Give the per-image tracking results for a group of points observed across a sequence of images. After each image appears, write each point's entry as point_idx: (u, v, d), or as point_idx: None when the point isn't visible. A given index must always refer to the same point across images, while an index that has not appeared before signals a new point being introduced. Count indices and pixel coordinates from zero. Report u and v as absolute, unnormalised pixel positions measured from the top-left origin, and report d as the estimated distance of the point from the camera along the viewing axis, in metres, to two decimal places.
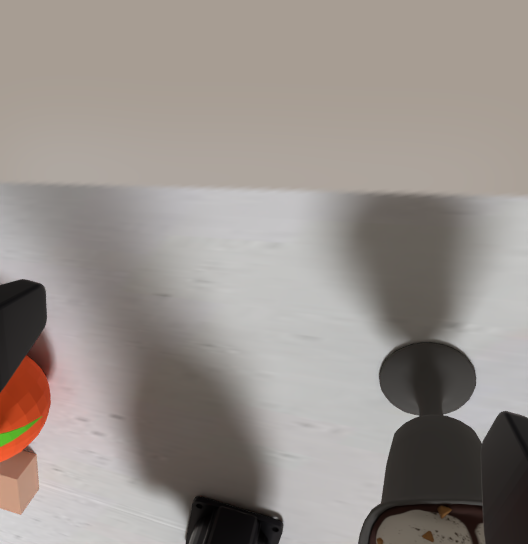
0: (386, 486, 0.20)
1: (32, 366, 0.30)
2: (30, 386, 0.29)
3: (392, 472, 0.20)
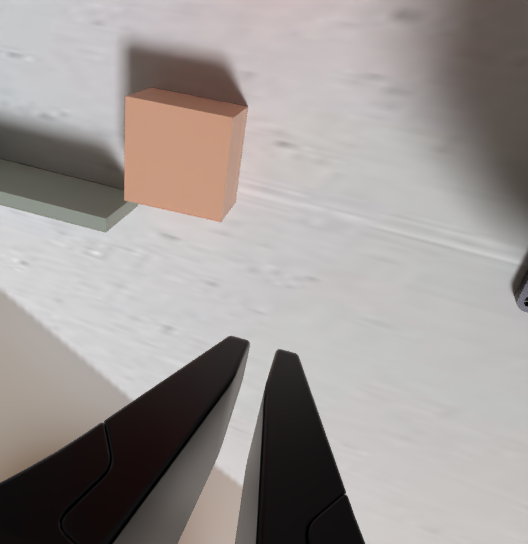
0: None
1: None
2: None
3: None
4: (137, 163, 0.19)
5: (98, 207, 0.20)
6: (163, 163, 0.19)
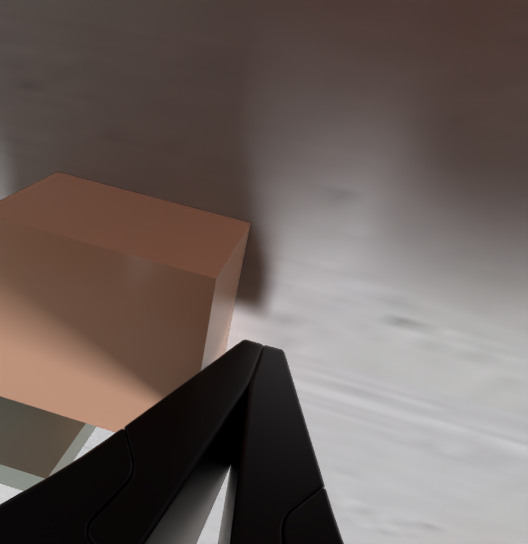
0: None
1: None
2: None
3: None
4: (14, 338, 0.09)
5: (34, 439, 0.10)
6: (68, 345, 0.09)
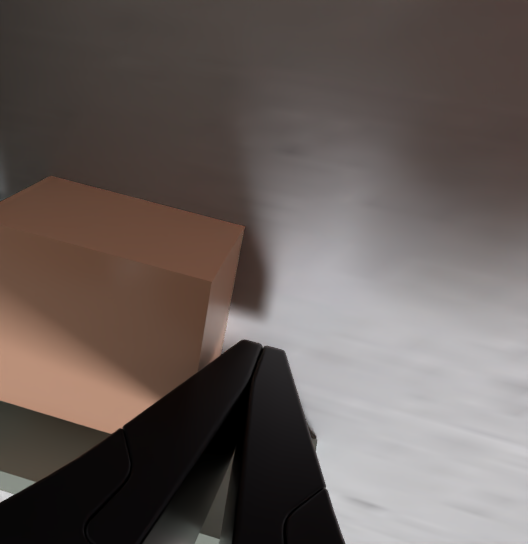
0: None
1: None
2: None
3: None
4: (10, 342, 0.09)
5: None
6: (64, 348, 0.09)
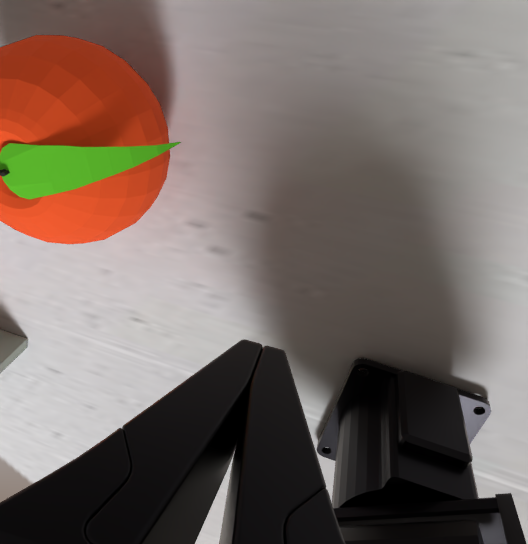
0: None
1: None
2: (152, 103, 0.16)
3: None
4: None
5: None
6: None
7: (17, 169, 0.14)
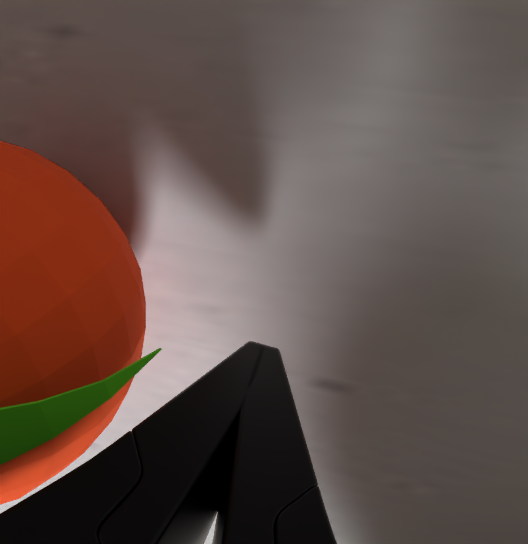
0: None
1: (102, 206, 0.09)
2: (105, 252, 0.08)
3: None
4: None
5: None
6: None
7: None
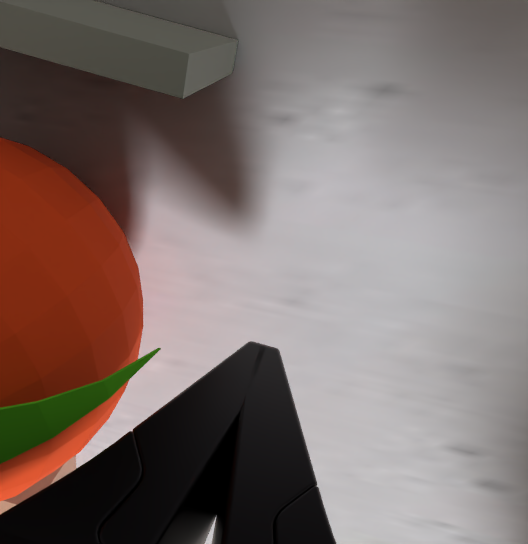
0: None
1: (101, 203, 0.09)
2: (103, 251, 0.08)
3: None
4: None
5: None
6: None
7: None
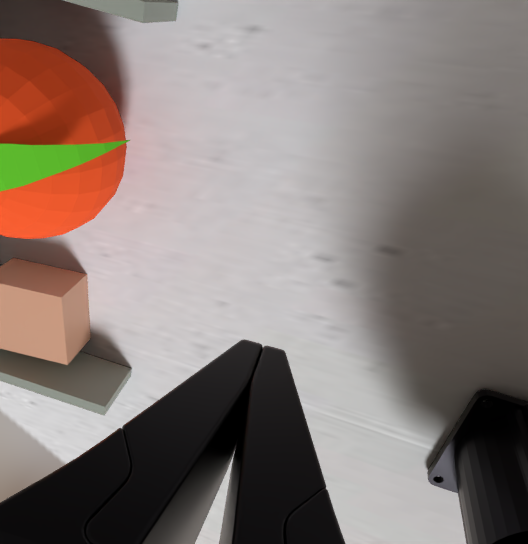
0: None
1: (104, 87, 0.18)
2: (105, 103, 0.17)
3: None
4: None
5: (98, 392, 0.25)
6: (18, 324, 0.24)
7: None
